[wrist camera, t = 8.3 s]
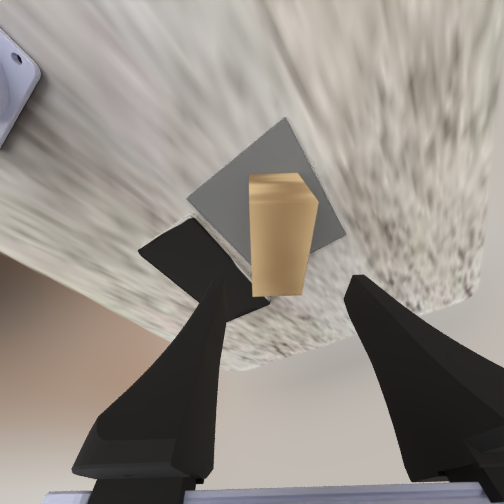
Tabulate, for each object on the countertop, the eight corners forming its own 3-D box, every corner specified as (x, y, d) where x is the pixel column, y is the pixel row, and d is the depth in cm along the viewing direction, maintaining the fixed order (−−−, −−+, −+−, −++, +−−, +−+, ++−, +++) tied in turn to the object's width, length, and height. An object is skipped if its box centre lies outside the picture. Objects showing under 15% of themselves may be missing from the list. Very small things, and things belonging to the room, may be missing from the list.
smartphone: (192, 213, 18) (273, 303, 25) (195, 207, 19) (272, 295, 26) (134, 252, 20) (223, 323, 28) (139, 245, 21) (224, 316, 29)
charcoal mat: (187, 197, 18) (186, 198, 17) (284, 117, 14) (285, 117, 14) (263, 275, 24) (263, 277, 23) (344, 232, 20) (345, 234, 20)
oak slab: (251, 252, 21) (252, 296, 16) (248, 174, 16) (249, 204, 11) (289, 251, 21) (301, 295, 16) (297, 172, 16) (318, 201, 11)
